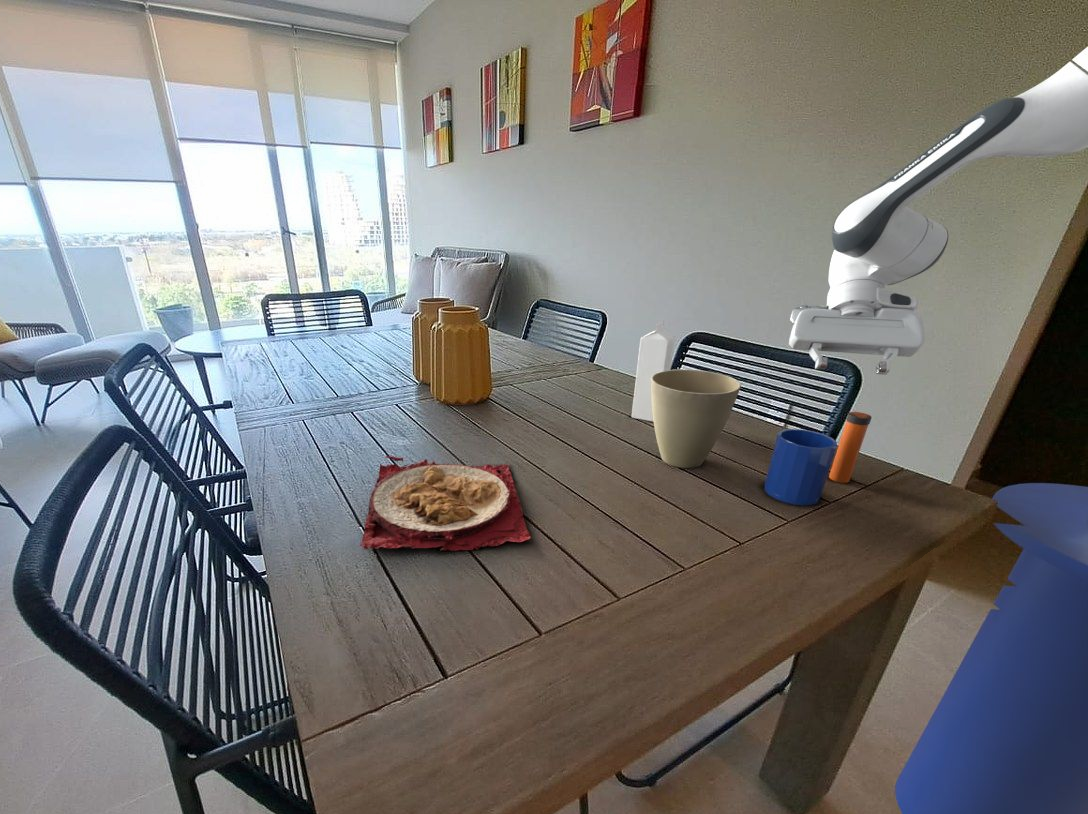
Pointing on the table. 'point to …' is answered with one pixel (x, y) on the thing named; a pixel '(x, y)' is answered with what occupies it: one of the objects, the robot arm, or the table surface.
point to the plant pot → (690, 413)
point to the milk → (651, 368)
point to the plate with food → (443, 507)
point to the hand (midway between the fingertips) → (851, 370)
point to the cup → (799, 466)
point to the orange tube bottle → (849, 446)
